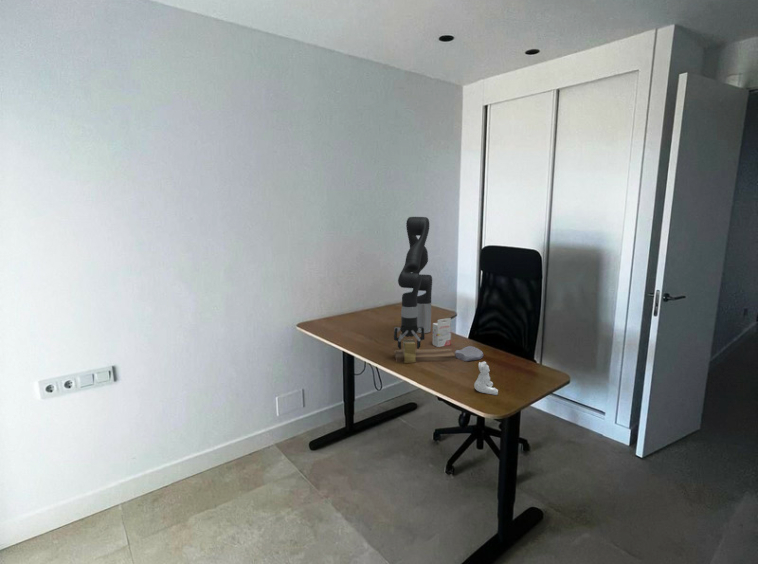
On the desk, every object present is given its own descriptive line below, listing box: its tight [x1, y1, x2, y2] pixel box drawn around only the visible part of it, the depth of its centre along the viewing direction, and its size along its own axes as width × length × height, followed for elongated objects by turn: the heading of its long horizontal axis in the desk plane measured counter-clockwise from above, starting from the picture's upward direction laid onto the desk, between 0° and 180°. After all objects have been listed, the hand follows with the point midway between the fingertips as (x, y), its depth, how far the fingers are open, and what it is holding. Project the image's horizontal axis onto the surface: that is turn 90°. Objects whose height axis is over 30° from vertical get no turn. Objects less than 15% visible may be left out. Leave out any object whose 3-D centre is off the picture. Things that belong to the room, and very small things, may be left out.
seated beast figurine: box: [473, 360, 499, 396], centre depth 167 cm, size 10×9×12 cm
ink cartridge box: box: [432, 317, 452, 348], centre depth 221 cm, size 9×5×15 cm, turn 115°
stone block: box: [454, 345, 484, 362], centre depth 204 cm, size 12×5×10 cm
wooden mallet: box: [402, 338, 417, 364], centre depth 203 cm, size 15×5×9 cm, turn 4°
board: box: [394, 348, 457, 363], centre depth 203 cm, size 10×28×2 cm, turn 94°
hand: (408, 348), depth 199 cm, fingers open, 8 cm apart
